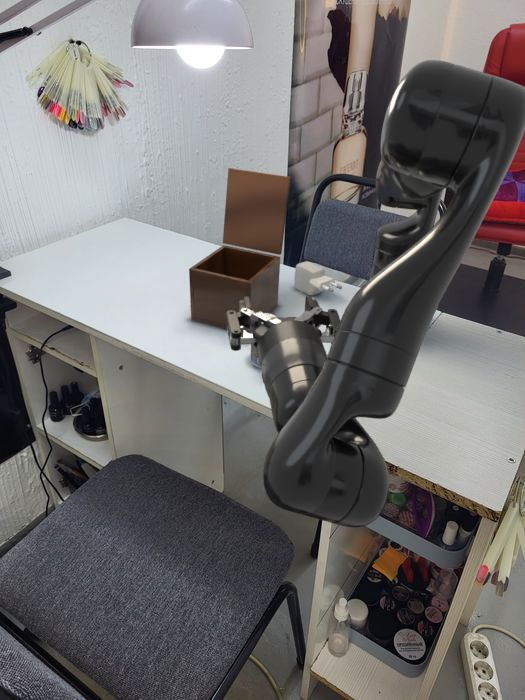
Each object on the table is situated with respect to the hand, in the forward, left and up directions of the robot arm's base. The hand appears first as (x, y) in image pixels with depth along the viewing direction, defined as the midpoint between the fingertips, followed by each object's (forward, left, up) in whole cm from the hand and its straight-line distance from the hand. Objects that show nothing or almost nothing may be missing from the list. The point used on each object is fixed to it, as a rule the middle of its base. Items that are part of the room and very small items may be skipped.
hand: (277, 302), depth 71 cm
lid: (-12, -33, +1) cm, 36 cm away
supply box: (-6, -29, -17) cm, 34 cm away
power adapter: (-26, -30, -17) cm, 43 cm away
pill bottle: (-4, -11, -17) cm, 21 cm away
